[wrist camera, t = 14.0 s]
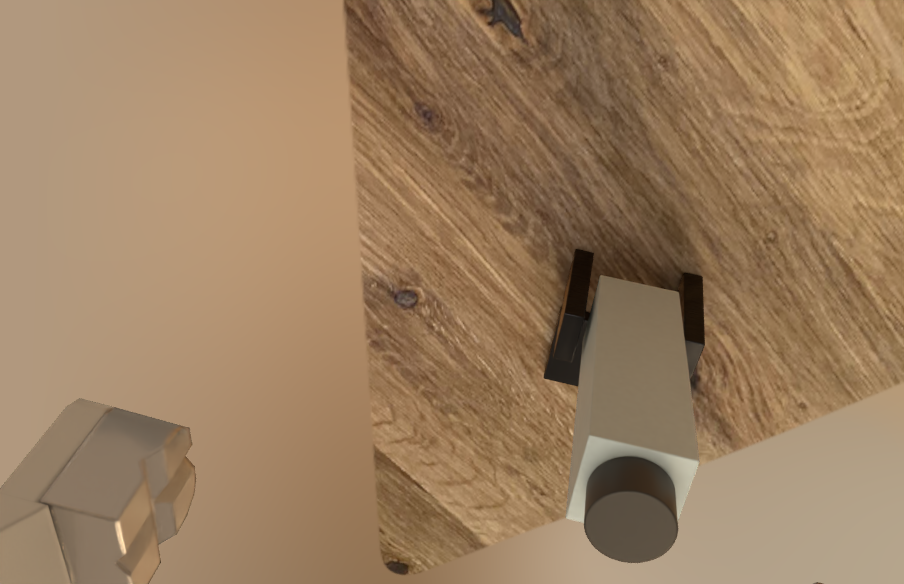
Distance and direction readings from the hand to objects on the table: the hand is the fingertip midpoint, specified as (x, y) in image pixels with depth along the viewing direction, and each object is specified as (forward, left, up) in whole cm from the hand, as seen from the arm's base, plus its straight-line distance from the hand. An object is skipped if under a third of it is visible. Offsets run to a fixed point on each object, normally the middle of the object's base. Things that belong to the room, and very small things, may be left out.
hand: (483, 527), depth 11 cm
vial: (+5, -14, -21) cm, 26 cm away
